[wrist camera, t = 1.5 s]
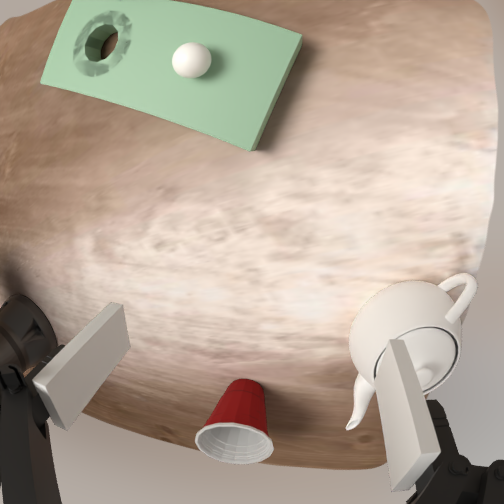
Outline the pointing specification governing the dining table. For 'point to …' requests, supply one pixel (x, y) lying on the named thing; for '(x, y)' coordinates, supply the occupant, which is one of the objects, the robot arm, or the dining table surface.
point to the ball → (191, 60)
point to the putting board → (162, 72)
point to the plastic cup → (237, 426)
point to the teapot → (409, 333)
